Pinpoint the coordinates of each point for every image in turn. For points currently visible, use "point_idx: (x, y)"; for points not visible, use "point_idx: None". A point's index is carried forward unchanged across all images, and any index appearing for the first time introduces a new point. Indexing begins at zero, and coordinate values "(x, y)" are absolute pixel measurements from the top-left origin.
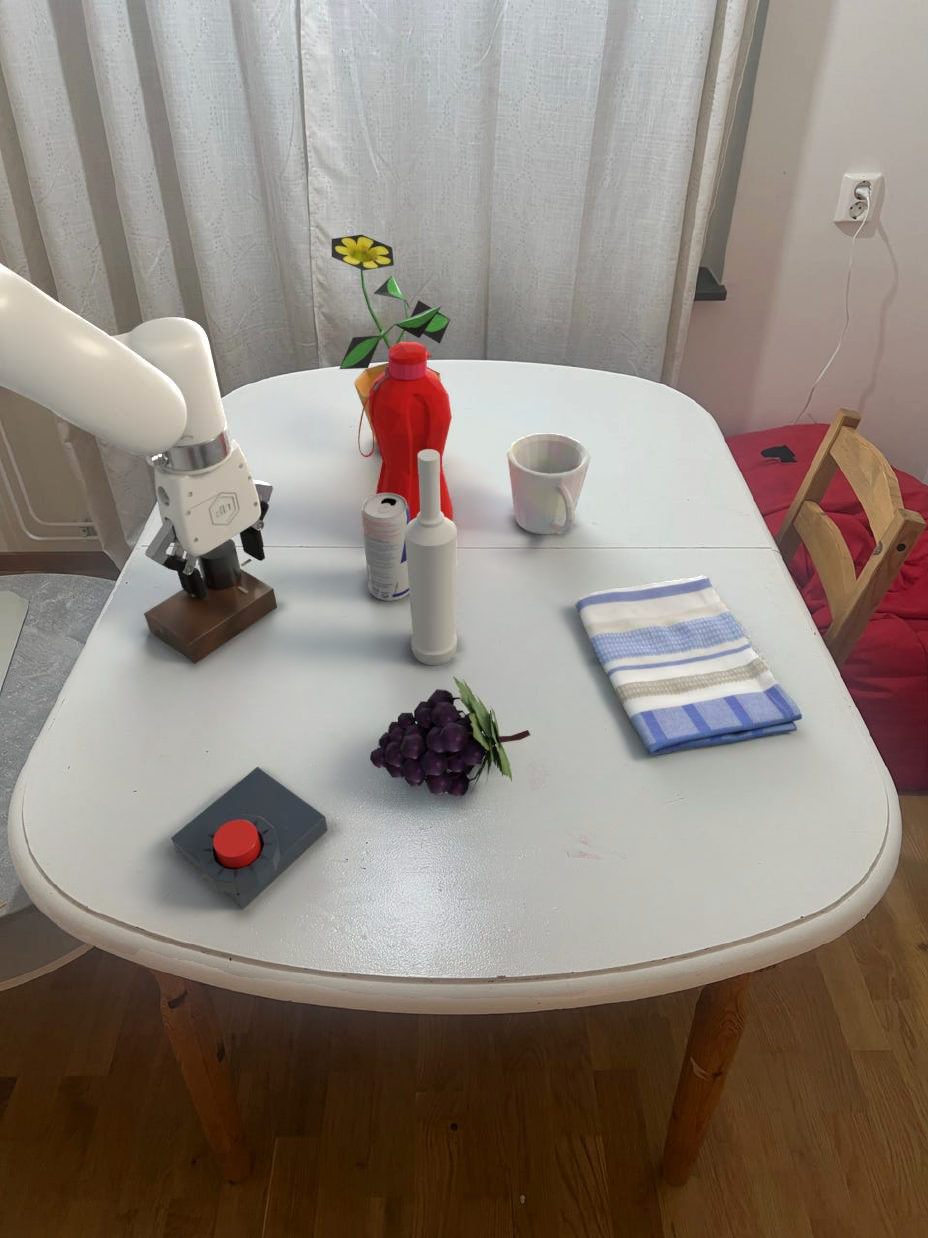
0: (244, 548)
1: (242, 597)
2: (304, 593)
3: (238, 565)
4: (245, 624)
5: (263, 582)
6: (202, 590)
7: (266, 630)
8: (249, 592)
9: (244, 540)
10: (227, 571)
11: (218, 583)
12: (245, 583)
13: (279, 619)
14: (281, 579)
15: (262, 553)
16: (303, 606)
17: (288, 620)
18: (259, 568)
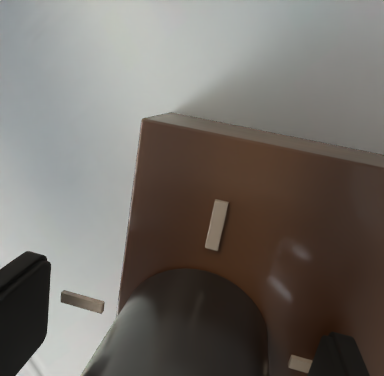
0: (34, 344)
1: (254, 201)
2: (70, 74)
3: (138, 311)
4: (312, 142)
5: (134, 179)
6: (352, 364)
7: (284, 70)
8: (215, 193)
9: (2, 371)
10: (214, 332)
11: (258, 327)
12: (176, 240)
13: (214, 66)
14: (61, 183)
15: (15, 266)
16: (120, 33)
17: (204, 32)
18: (61, 267)
